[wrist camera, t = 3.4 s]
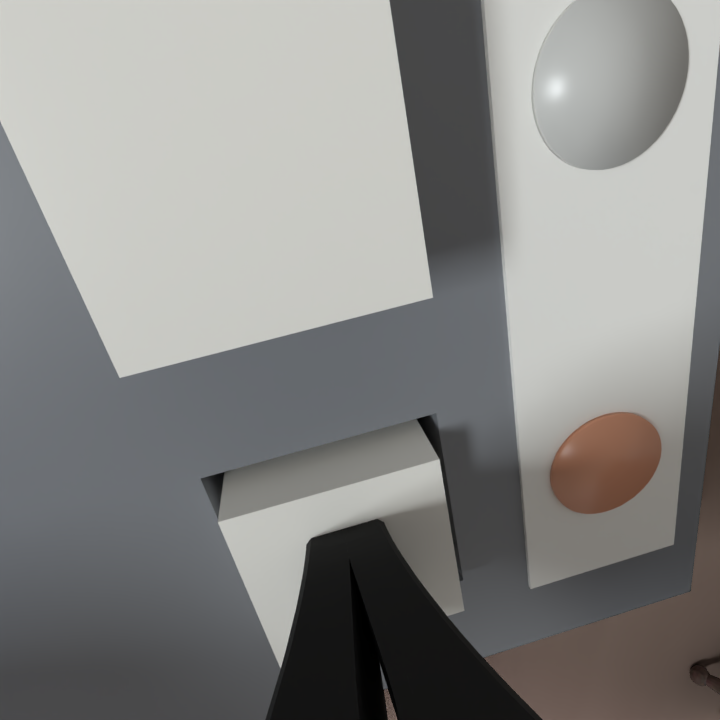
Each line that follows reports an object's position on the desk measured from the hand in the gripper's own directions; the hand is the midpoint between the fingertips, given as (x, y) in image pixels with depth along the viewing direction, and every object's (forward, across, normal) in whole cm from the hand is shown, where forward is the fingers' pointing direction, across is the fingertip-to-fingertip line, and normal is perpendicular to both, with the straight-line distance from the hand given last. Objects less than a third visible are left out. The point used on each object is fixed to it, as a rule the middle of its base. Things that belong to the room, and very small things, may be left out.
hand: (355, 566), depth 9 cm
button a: (+3, 0, 0) cm, 3 cm away
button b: (+2, 0, -7) cm, 7 cm away
